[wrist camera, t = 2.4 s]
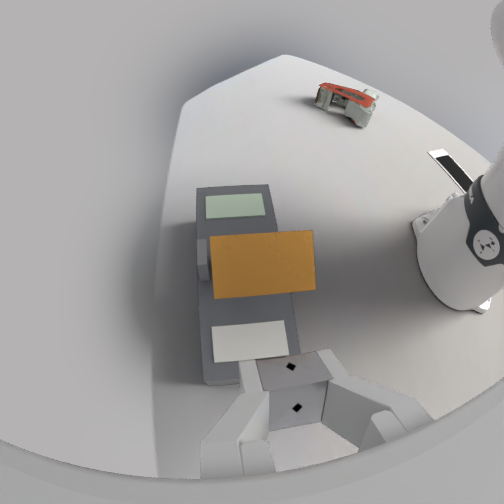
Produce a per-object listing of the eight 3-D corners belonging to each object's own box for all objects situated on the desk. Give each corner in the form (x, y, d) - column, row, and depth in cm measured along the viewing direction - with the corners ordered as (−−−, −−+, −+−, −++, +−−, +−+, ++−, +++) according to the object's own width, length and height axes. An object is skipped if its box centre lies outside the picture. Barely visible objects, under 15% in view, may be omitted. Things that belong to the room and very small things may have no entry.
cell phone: (442, 150, 51) (443, 148, 51) (486, 200, 44) (487, 199, 44) (426, 153, 49) (427, 151, 49) (474, 209, 42) (476, 207, 42)
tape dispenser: (371, 102, 61) (302, 90, 58) (377, 86, 57) (306, 71, 53) (405, 140, 52) (328, 126, 48) (414, 121, 47) (335, 103, 44)
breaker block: (289, 377, 26) (313, 365, 18) (209, 385, 25) (199, 378, 18) (263, 216, 36) (271, 164, 28) (200, 220, 35) (194, 168, 28)
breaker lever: (268, 271, 26) (322, 289, 12) (214, 275, 25) (207, 299, 12) (267, 243, 26) (318, 230, 12) (212, 246, 25) (202, 236, 12)
